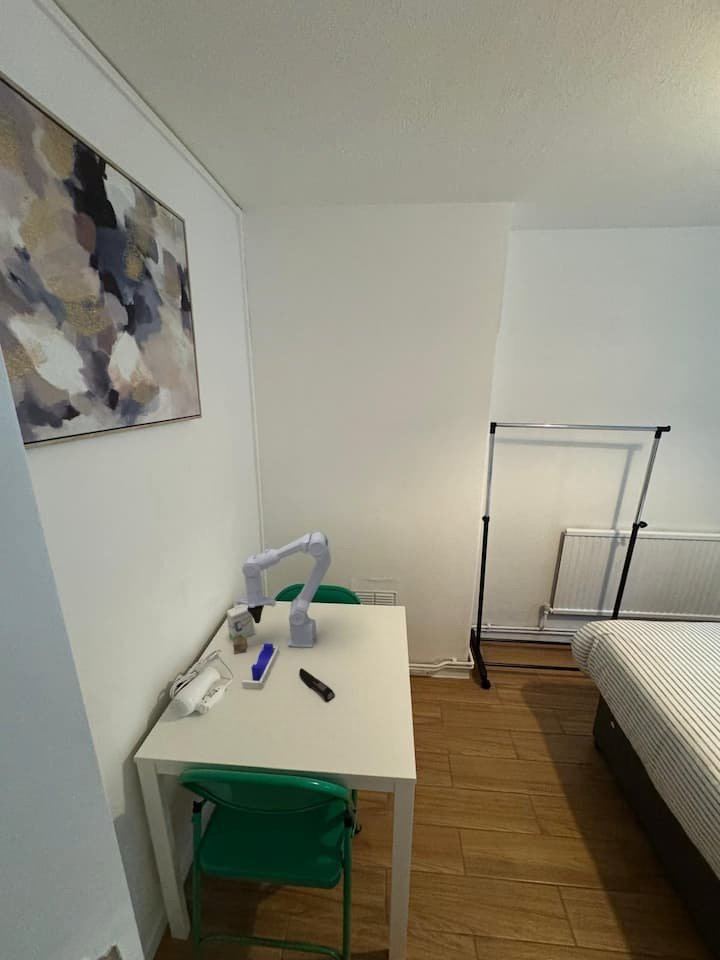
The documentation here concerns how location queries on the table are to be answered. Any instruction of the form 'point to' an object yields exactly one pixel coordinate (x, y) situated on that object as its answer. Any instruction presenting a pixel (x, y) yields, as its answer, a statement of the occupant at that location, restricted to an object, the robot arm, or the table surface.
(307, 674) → the electric trimmer
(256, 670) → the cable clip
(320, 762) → the table surface
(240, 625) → the ink box
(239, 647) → the walnut block
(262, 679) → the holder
